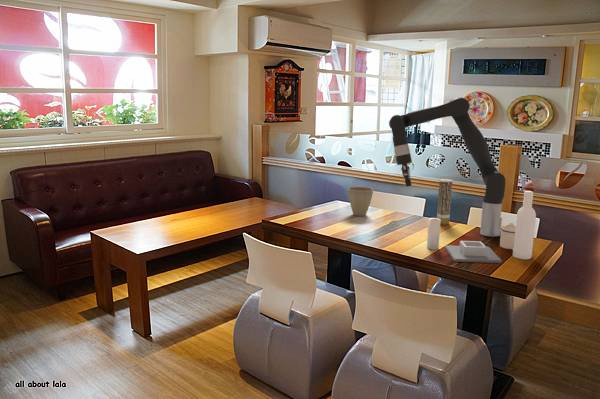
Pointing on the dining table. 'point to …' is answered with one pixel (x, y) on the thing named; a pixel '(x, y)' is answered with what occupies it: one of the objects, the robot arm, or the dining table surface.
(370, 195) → the plant pot
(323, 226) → the dining table surface
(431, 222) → the paper roll
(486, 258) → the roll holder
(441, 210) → the paper tube
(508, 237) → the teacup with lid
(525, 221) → the bottle
